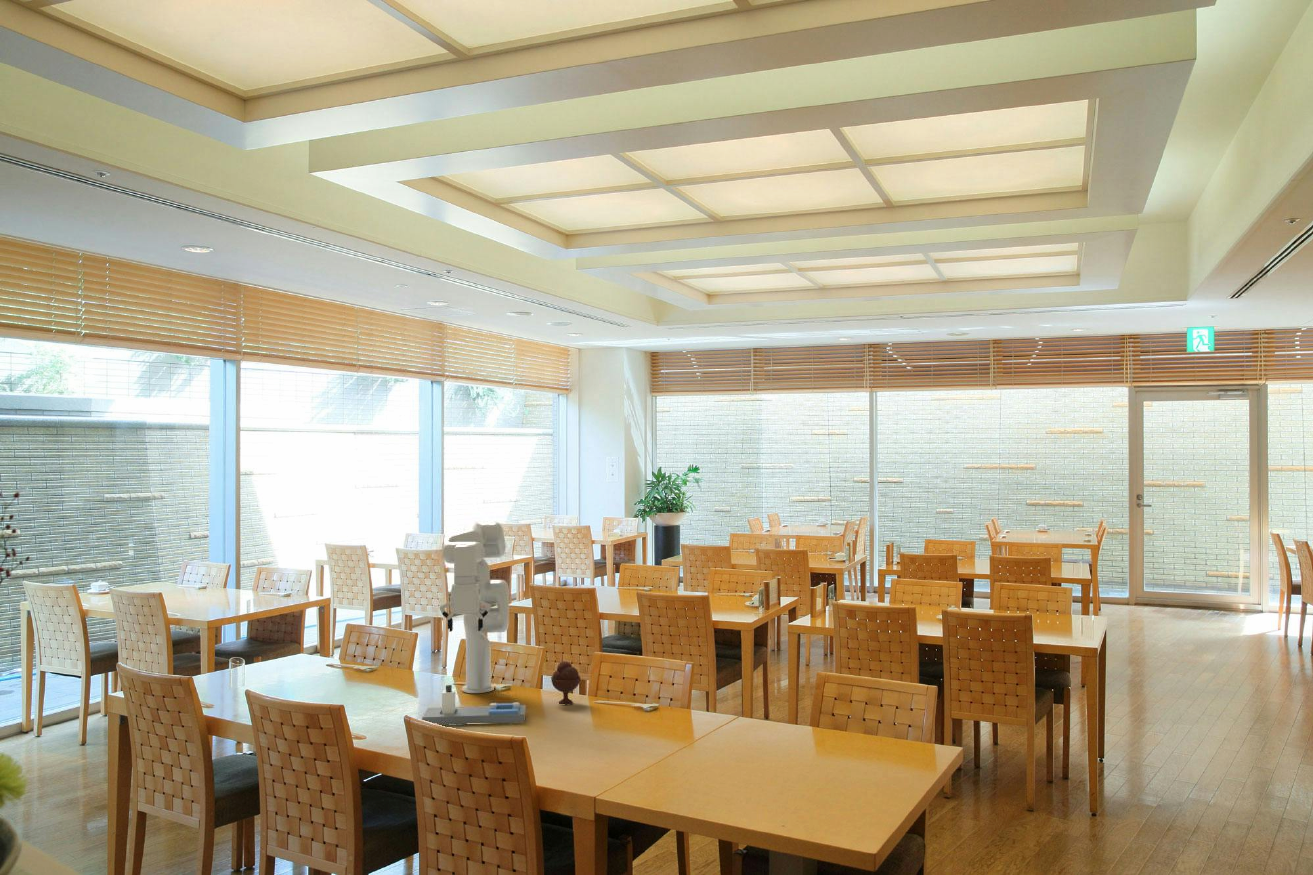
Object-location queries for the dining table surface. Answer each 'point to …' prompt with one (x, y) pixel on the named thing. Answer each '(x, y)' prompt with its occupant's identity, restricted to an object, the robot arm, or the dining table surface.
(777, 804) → the dining table surface
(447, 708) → the cord plug
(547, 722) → the dining table surface
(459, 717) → the board
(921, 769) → the dining table surface
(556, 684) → the ice cream bowl
